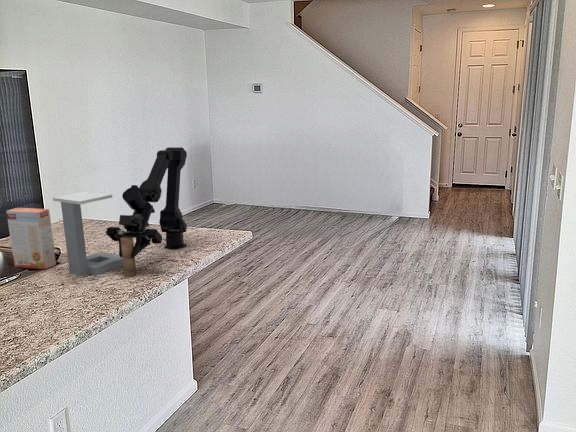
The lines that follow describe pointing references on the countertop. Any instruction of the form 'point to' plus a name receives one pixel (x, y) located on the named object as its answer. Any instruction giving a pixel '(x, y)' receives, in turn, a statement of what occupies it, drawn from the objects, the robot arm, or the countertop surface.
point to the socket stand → (75, 236)
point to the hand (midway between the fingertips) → (126, 257)
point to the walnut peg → (128, 256)
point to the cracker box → (31, 238)
